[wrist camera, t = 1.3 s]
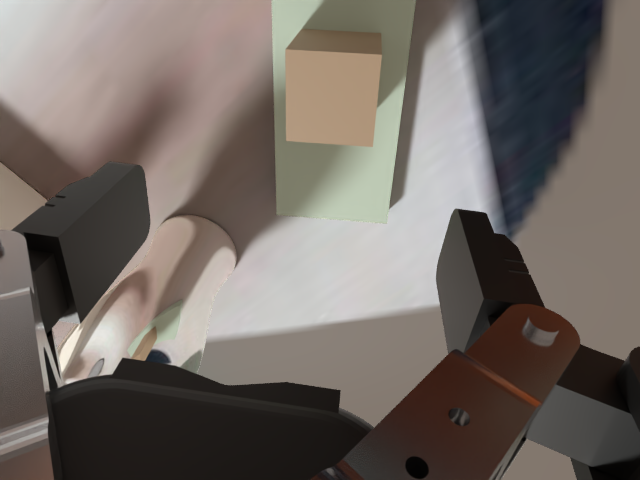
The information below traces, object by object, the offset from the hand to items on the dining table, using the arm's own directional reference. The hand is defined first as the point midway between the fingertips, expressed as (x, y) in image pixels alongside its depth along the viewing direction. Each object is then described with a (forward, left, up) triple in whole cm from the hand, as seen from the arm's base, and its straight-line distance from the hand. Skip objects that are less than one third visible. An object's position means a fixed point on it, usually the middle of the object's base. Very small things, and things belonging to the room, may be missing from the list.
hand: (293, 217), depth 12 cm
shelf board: (0, 0, -17) cm, 17 cm away
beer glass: (+14, -9, -17) cm, 23 cm away
